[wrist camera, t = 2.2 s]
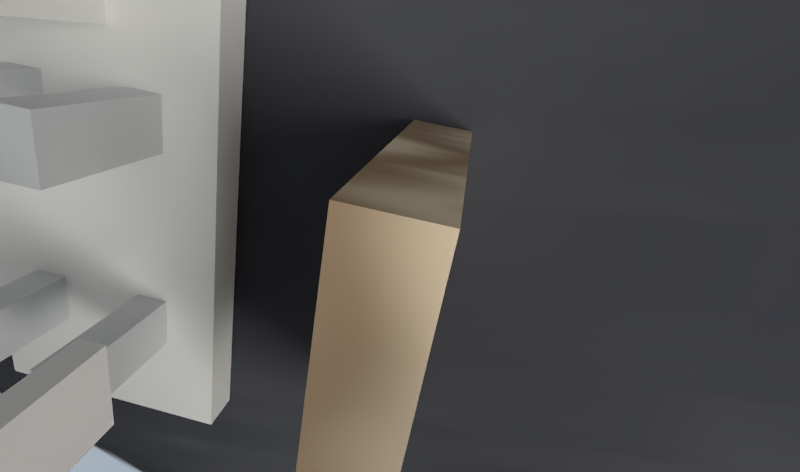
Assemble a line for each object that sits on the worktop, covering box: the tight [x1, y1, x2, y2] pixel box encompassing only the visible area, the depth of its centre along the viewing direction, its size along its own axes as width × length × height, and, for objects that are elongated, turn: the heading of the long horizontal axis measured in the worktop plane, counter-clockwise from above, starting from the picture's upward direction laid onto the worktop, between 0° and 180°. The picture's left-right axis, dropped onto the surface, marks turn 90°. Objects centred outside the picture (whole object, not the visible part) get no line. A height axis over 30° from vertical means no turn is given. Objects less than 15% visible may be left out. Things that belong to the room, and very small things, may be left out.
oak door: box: [296, 120, 472, 472], centre depth 17 cm, size 4×14×12 cm, turn 169°
